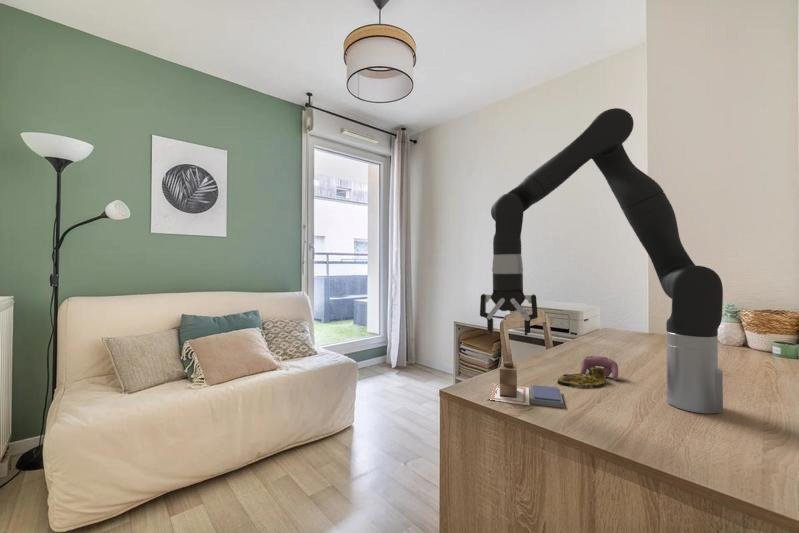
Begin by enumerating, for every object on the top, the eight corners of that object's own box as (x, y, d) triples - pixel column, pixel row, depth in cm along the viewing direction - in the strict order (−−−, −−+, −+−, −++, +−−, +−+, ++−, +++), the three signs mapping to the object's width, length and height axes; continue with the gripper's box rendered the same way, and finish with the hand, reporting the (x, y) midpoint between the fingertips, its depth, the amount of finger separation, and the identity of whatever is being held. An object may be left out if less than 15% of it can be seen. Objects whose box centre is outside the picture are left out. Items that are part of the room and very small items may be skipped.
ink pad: (559, 393, 90) (559, 386, 90) (563, 407, 80) (563, 401, 80) (531, 389, 92) (530, 383, 92) (531, 404, 83) (531, 397, 83)
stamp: (516, 390, 91) (516, 360, 91) (516, 398, 86) (516, 366, 86) (501, 388, 93) (501, 358, 93) (499, 396, 87) (499, 365, 87)
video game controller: (618, 383, 101) (618, 360, 103) (618, 380, 97) (618, 356, 100) (581, 377, 106) (582, 355, 109) (579, 374, 103) (580, 351, 106)
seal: (571, 395, 92) (617, 389, 95) (572, 378, 91) (618, 373, 95) (548, 380, 101) (591, 375, 104) (549, 364, 100) (592, 360, 104)
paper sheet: (529, 388, 93) (529, 387, 93) (529, 405, 82) (529, 404, 82) (491, 384, 97) (491, 383, 97) (486, 400, 85) (486, 398, 85)
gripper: (536, 271, 90) (537, 332, 90) (481, 272, 95) (482, 330, 95) (537, 272, 83) (538, 338, 83) (477, 272, 88) (479, 335, 88)
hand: (508, 334), depth 89 cm, fingers open, 8 cm apart
